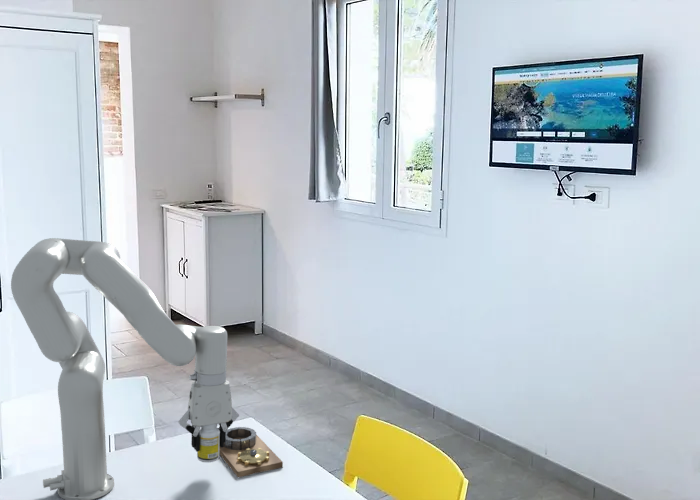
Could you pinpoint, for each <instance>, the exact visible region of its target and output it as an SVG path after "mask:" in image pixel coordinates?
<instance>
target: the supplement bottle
mask: <svg viewBox="0 0 700 500" xmlns="http://www.w3.org/2000/svg"><path fill="white" fill-rule="evenodd" d="M218 428H219V427H218V424H213V425H206V426H201V427H200V430H199V433H198V435H199V436H200V451H198V452H197V454H196V456H197V457H196V458H197V460H198V461H199V462H202V463H214V462H216V461H218V460H219V458H220V454H219V451H220V430H219V429H218Z"/></svg>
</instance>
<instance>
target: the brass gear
mask: <svg viewBox="0 0 700 500" xmlns="http://www.w3.org/2000/svg"><path fill="white" fill-rule="evenodd" d="M265 461H266V462H268V461H269V452H268V451H266V452H265V451H263V450H262V448H258V449H250V448H248V449H246V450H245V451H243V452H239V453H238V458H237V462H238V463H240V462H242V463H244V464H245V466H249V465H258V466H259V465H261V463H263V462H265Z"/></svg>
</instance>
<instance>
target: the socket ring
mask: <svg viewBox="0 0 700 500" xmlns="http://www.w3.org/2000/svg"><path fill="white" fill-rule="evenodd" d="M256 435H257V432H256V430H255V429H253V428H251V427H246V426H238V427H229V428H228V430H227V431H226V441H225V442H224V447H225V448H227V449H231V450H244V449H248V448H251V447H253V446H254V445H255V444H256ZM238 437H240V438H244V439H233V438H238Z"/></svg>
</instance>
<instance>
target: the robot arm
mask: <svg viewBox="0 0 700 500" xmlns="http://www.w3.org/2000/svg"><path fill="white" fill-rule="evenodd" d="M62 274H63V275H74V276H75V275H78V276H81V275H82V276H83V277H84V278H85V280H86V281H88V283H89V284H91V286H93V288H95V289H96V291H98V292H99V293H100V294H101V295H102V296H103V297H104V298H105V299H106V300H107V301H108V302H109V303H111V304H112V305H113V307H114V308H116V309H117V311H118V312H119V313H121V314H122V315H123V317H124V319H126V321H127V322H128V323H129V325H130V326H131V327H132V328H133V329H134V330H135V331H136V332H137V334H138V335H139V336H140V337H141V338H142V339H143V341H145V342H146V344H147V345H148V346H149V347H151V348H150V349H152V350H153V351H154V352H155V353H157V354H158V356H160V357H161V358H162V359H163V360H164V361H165V362H166V363H168V364H170V365H171V366H175V367H184V366H186V365H189V364H190V363H191V362H192V361H194V359H195V361H194V363H195V364H194V370H193V373H192V374H189V375H188V379H189V380H188V381H192V383H191V386H190V390H189V396H188V404H187V411H185V413H184V414H183V415H182V417H180V418H179V420H178V422H177V423H178V424H179V426H181V427H183V429H185V430H186V431H187V432H189V433H190V434H191V443H190V444H191V447H192V448H194V450H195V452H198V451H200V436H199V435H198V433H199V430H200V428H201V426H206V425H213V424H217V425H218V426H219V427H217V428H218V429H219V430H220V447H221V448H222V447H224V442H225V441H226V431H227V430H228V429H230V428H231V426H232V425H233V424H234V422H235V421H236V420H237V419H238V418H239V417H240V414H239V413H238V412H237V411H236V410H235V409H234V408H233V404H232V403H233V401H232V389H231V384H230V381H229V380H228V379H227V363H228V362H227V361H228V358H227V357H228V331H227V330H226V329H225V328H224V327H222V326H218V325H205V326H198V325H197V326H195V325H188V324H181V323H180V324H179V323H178V324H176V323H175V322H174V321H173V320H172V319H171V318H170V317H169V315H167V313H166V311H164V309H163V308H162V306H161V304H160V302H159V301H158V298H157V297H156V295H155V293H154V292H153V290H152V289H151V288H150V286H148V284H146V283H145V282H144V280H142V279H141V278H140V277H139V276H138V275H137V274H136V273H135V272H134V271H133V270H132V269H131V268H130V267H129V266H128V265H127V264H126V263H125V262H124V261H123V260H122V259H121V255H120V252H119V250H118V249H117V248H116V247H115V246H114V245H113V244H112V243H108V242H106V241H105V242H104V241H98V240H97V241H96V240H95V241H94V240H83V239H71V238H58V237H57V238H56V237H54V238H53V237H52V238H44V239H42V240H40V241H38V242H37V243H36V244H34V246H32V247H31V248H30V249H29V250H28V251H27V252H26V253H25V254H24V255H23V257H22V258H21V259H20V260H19V261H18V263H17V264H16V266H15V268H14V269H13V271H12V275H11V280H10V288H11V289H10V290H11V294H12V297H13V299H14V302H15V303H16V305H17V307H18V310H19V311H20V313H21V315H22V317H23V319H24V321H25V323H26V324H27V326H28V329H29V331H30V333H31V334H32V336H33V338H34V340H35V342H36V343H37V346H38V348H39V350H40V352H41V354H42V355H43V356H44V357H45V358H47V360H49V361H51V362H54V363H59V365H60V367H61V369H62V370H61V372H60V375H59V378H58V381H57V382H58V383H57V396H58V397H57V398H58V404H59V412H60V414H59V415H60V426H61V437H62V438H61V439H62V440H61V441H62V443H61V444H62V459H63V470H61V474H57V476H55V477H49V478H44V479H42V486H43V489H46V488H49V490H50V491H54V490H57V494H58V496H59V498H61V499H63V500H95V499H99V498H101V497H103V496H105V495H107V494H108V493H110V492H111V491H112V490H113V488H114V486H115V479H114V476H112V475H111V474H109V473H108V469H107V467H108V466H107V445H106V444H107V443H106V441H107V440H106V425H105V424H106V423H105V422H106V421H105V406H104V380H105V379H104V378H105V373H106V364H105V361H104V358H103V356H102V354H101V351H100V350H99V348H98V345H97V344H96V342H95V341H94V338H93V337H92V335H91V332H90V331H89V329H88V327H87V325H86V323H85V322H84V321H83V320H82V318H81V317H80V316H79V315H78V314H76V313H73V312H70V311H67V310H66V308H65V306H64V305H63V301H62V300H61V298H60V296H59V295H58V294H57V292H56V291H55V289H54V282H55V281H56V280H57V279H58V278H59V277H60V276H61V275H62ZM188 421H190V423H191V424H189V423H188Z"/></svg>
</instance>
